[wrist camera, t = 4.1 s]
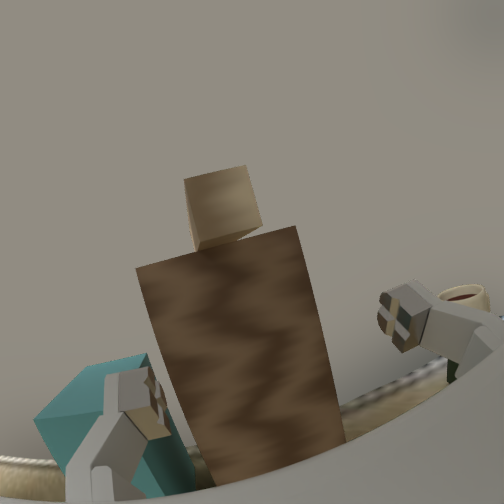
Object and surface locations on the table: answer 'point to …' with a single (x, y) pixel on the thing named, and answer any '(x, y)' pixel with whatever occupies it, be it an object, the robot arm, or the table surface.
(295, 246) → the pillar
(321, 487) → the robot arm
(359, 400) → the table surface
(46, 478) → the table surface
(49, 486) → the table surface
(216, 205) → the baton
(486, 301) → the character mug
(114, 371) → the teal rectangular block
